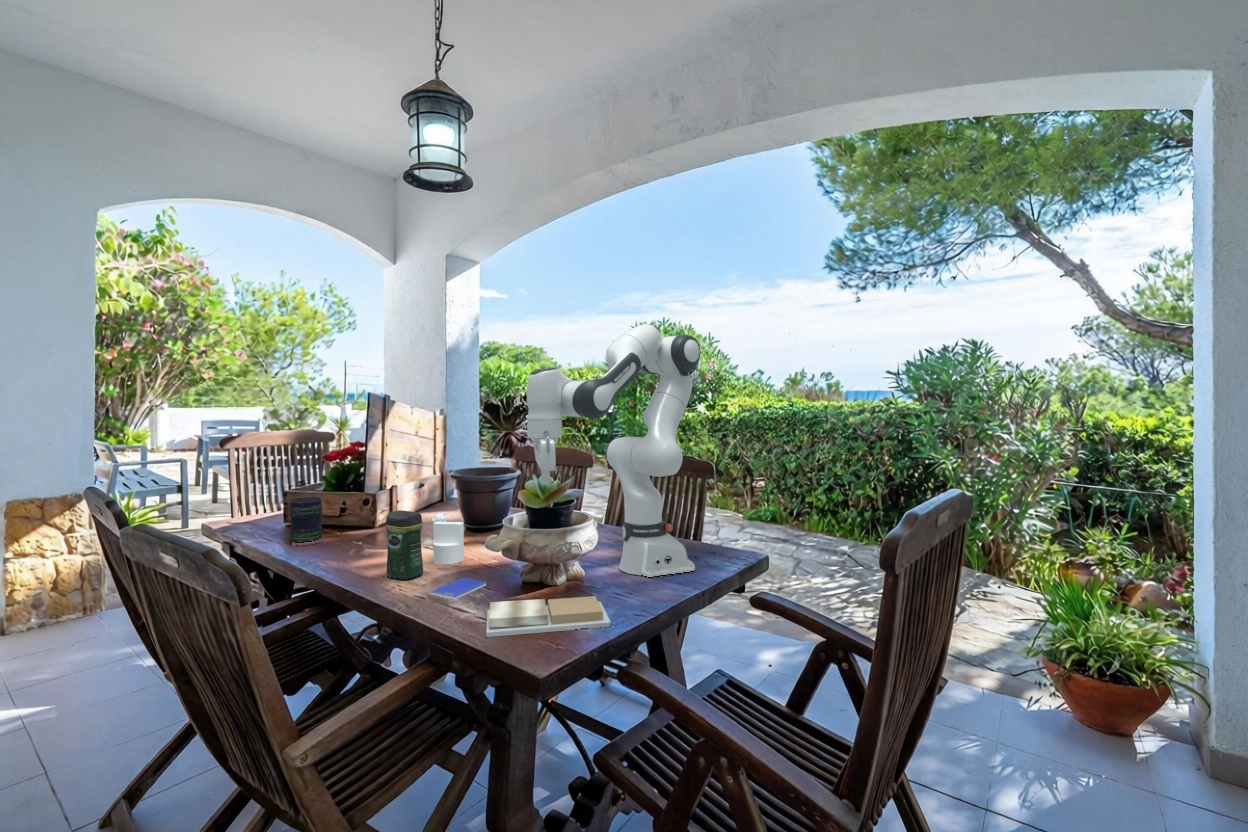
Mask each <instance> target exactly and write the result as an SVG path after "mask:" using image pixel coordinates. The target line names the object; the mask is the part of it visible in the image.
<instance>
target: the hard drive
mask: <svg viewBox="0 0 1248 832" xmlns="http://www.w3.org/2000/svg"><path fill="white" fill-rule="evenodd" d="M485 586H487V582H486V581H485V580H478V579H473V578H468V577H467V578H466V577H462V578H460V579H457V580H455V581H453V582H450V583H448V584H444V585H443V586H440V587H438V588H434V589H433V590H430V591H429V595H430V594H433V595H437V596H440V597H439V598H442V597H444V598H443V599H447V598H448V600H452V599H453V600H452V601H455V600H457V599H460V598H461V597H463V596H467V595H468V594H471V593H473V592H474V591H476V590H478V589H481V588H483V587H485ZM433 595H432V596H433ZM437 596H436V597H437Z"/></svg>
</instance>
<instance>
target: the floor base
mask: <svg viewBox="0 0 1248 832" xmlns="http://www.w3.org/2000/svg"><path fill="white" fill-rule="evenodd" d="M546 608H547V612H548V624H538V625H524V626H509V627H495V628H489V617H490V609H487V615H486V617H487V618H486V637H485V638H491V637H492V638H493V637H505V636H517V635H527V634H528V635H529V634H538V633H539V634H540V633H541V634H543V633H552V632H563V631H575V629H577V630H582V629H581V628H589V629H597V628H598V629H599V628H600V627H601V628H610V626H611V624H612V623H611V620H610V618H609V616H608V614H607V612H606V610H605V608H604V606H603V604H602V602H601V601H598V598H597V596H596V595H593V596H581V597H578V596H577V597H566V598H564V597H562V598H552V599H551V598H550V599H547V605H546ZM611 627H612V626H611Z"/></svg>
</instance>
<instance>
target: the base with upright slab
mask: <svg viewBox="0 0 1248 832" xmlns="http://www.w3.org/2000/svg"><path fill="white" fill-rule="evenodd" d="M432 524H433V525H432V526H433V529H432V530H433V533H432V536H433V539H432V540H433V541H434V543H433V549H432V550H433V563H434V562H436V563H439V564H454V563H458V562H461V561H463V560H464V559H465V541H464V539H465V538H464V537H465V536H464V535H465V534H464V533H465V531H464V530H465V529H464V525H465V524H464V522H462V521H447V522H435V523H432ZM464 561H465V560H464ZM464 561H463V562H464Z"/></svg>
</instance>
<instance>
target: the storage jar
mask: <svg viewBox="0 0 1248 832" xmlns="http://www.w3.org/2000/svg"><path fill="white" fill-rule="evenodd" d="M289 504H290V505H289V518H290V530H289V538H290V543H291V542H294V543H304V542H312V541H316V540H319V539H321V538H322V539H323V525H322V514H323V505H322V504H323V503H322V497H316V496H315V497H313V496H312V497H311V496H308V497H299V498H293V499H290V500H289Z"/></svg>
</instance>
